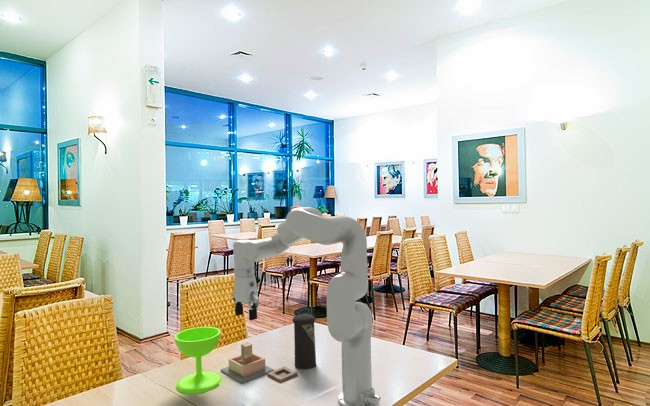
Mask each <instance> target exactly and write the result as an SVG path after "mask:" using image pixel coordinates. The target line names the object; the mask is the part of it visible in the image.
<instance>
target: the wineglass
mask: <svg viewBox="0 0 650 406" xmlns="http://www.w3.org/2000/svg"><path fill="white" fill-rule="evenodd" d="M220 339H221V329H220V328H218V327H215V326H197V327H191V328H188V329H184V330H182V331H180V332H177V333H176V334H175V335H174V343H175V345H176V347H177V349H178V351H179V352H181V353H182V354H183V355H185V356H187V357H189V358H195V368H196V369H195V370H196V372H194V373H191V374H188V375H186V376H184V377H182V378H181V379H180V380H178V382H177V383H176V386H175V389H176V391H177V392H178V393H181V392H182V393H181V394H185V393H186V394H187V395H196V394H202V393H206V392H209V391H212V390H214V389H216V388H218V387H219V386H220V384H221V382H222V376H221V375H219V374H218V373H216V372H212V371H202V370H203V368H202V366H203V365H202V364H203V363H202V357H204V356H207V355H208V354H210V353H211V352H212V351H213V350H215V348H216V347H217V345H218V344H219V341H220Z"/></svg>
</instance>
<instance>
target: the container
mask: <svg viewBox="0 0 650 406" xmlns="http://www.w3.org/2000/svg"><path fill="white" fill-rule="evenodd" d="M292 322H293V328H294V329H293V331H294V334H293V336H294V367H295V368H296V369H298V370H311V369H314V368H315V367H317V356H316V336H315V335H316V334H315V322H316V317H315V316H314V315H313V314H310V313H300V314H298V315H294V316H293V318H292Z"/></svg>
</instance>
